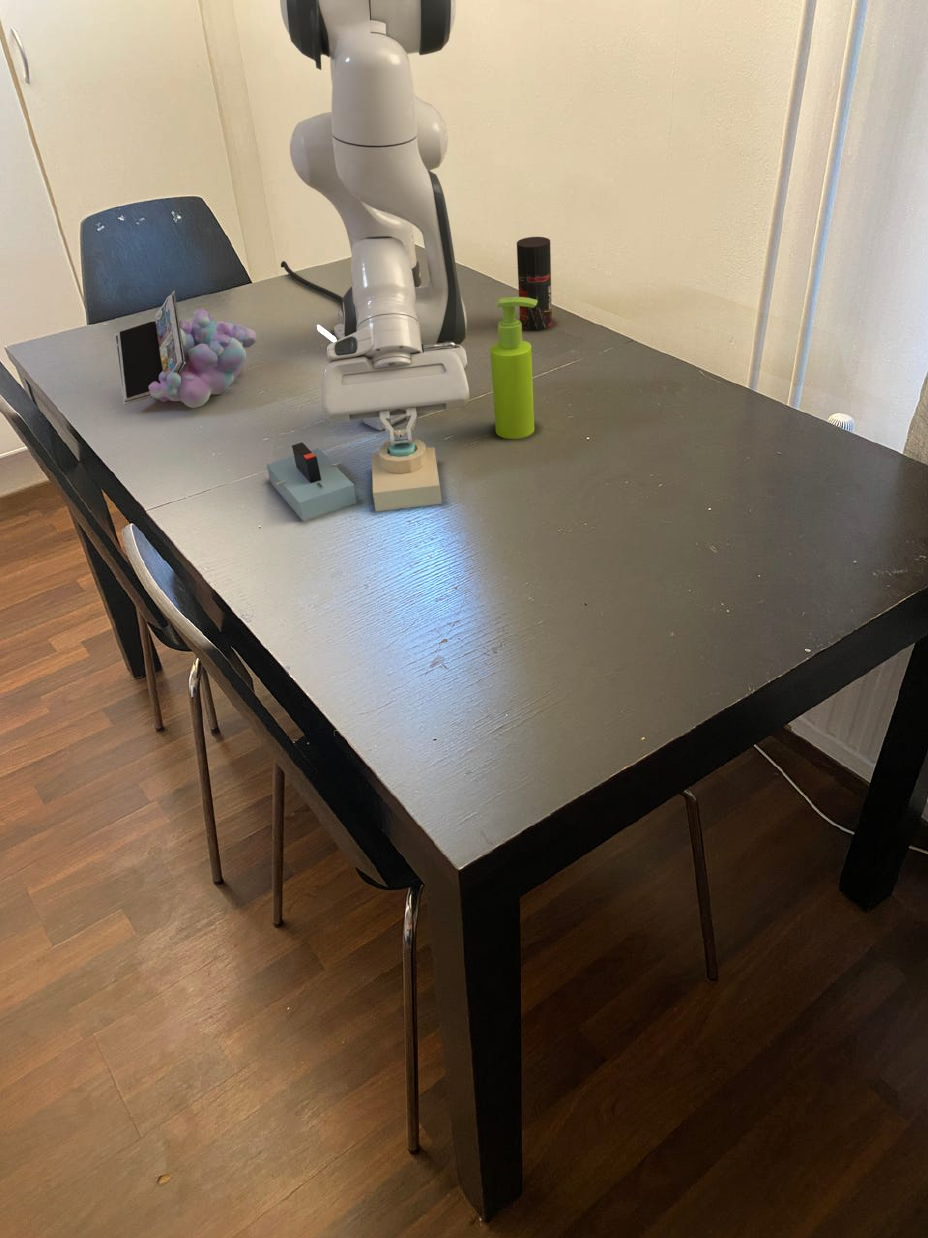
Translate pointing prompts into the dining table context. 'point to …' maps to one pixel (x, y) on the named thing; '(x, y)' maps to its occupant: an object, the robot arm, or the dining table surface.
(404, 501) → the beige nut base
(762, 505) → the dining table surface
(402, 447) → the teal short cylinder
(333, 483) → the switch panel
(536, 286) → the deodorant
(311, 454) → the black rectangular block
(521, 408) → the soap dispenser
